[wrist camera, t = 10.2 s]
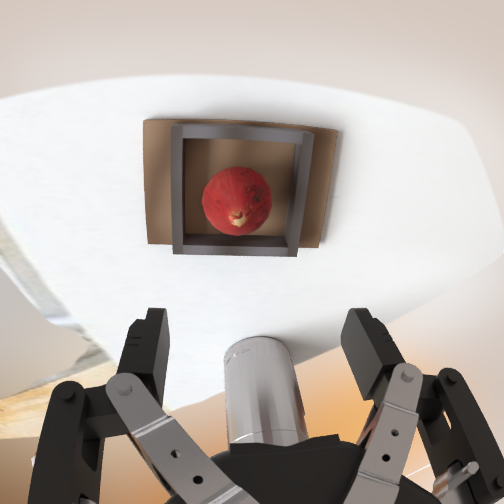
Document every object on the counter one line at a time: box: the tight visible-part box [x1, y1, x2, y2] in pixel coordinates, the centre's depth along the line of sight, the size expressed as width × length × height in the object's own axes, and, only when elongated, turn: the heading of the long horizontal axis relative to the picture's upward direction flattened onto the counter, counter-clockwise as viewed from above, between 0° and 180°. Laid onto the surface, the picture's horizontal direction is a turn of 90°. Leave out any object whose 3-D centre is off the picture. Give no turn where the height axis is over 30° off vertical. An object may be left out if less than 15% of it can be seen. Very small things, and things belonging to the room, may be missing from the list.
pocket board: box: [143, 119, 337, 257], centre depth 29 cm, size 18×13×4 cm
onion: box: [202, 166, 272, 236], centre depth 26 cm, size 6×6×8 cm
